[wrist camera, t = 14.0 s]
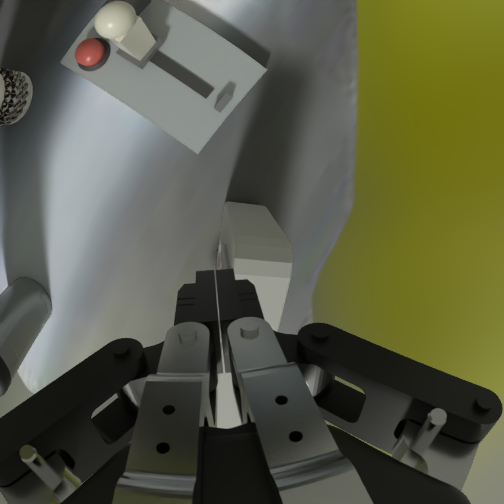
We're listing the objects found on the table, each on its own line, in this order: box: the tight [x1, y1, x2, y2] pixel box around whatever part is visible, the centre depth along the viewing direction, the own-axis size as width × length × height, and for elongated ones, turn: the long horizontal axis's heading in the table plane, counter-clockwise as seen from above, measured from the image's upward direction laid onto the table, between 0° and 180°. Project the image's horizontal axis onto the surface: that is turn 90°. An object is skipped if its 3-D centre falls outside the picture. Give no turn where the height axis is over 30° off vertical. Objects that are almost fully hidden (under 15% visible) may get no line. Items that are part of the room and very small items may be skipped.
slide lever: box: [94, 1, 165, 69], centre depth 24 cm, size 4×4×14 cm
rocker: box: [101, 0, 152, 16], centre depth 26 cm, size 6×4×2 cm, turn 52°
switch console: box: [60, 0, 267, 154], centre depth 32 cm, size 24×14×4 cm, turn 51°
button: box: [75, 38, 105, 67], centre depth 28 cm, size 4×4×2 cm
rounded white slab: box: [215, 201, 293, 429], centre depth 40 cm, size 29×8×18 cm, turn 171°
